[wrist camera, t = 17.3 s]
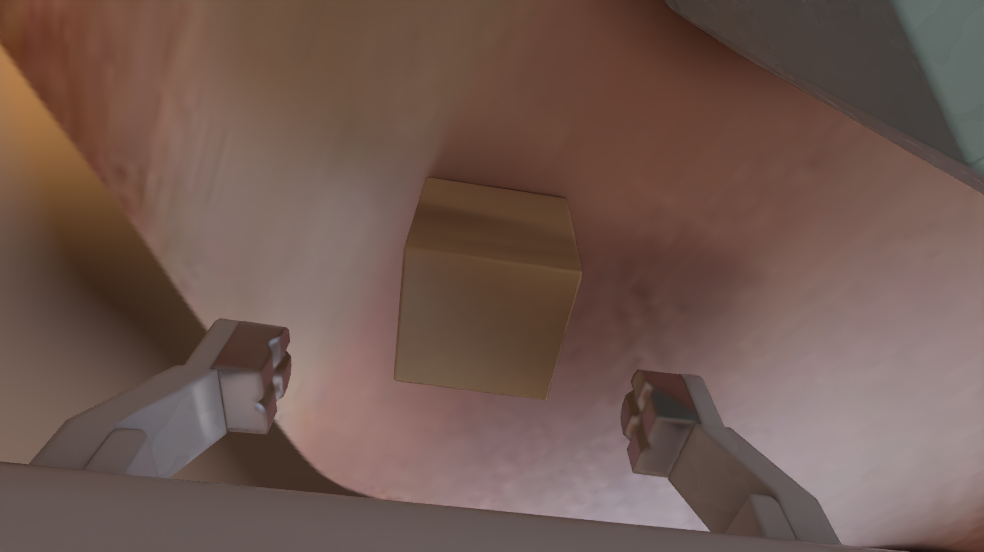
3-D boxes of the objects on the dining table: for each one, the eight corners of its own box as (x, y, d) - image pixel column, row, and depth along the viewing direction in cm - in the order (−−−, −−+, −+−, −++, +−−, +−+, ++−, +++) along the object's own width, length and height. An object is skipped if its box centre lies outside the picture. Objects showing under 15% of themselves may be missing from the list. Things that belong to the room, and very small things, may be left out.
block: (539, 311, 20) (547, 401, 16) (415, 293, 20) (392, 381, 16) (567, 197, 18) (584, 272, 14) (426, 175, 17) (403, 246, 14)
